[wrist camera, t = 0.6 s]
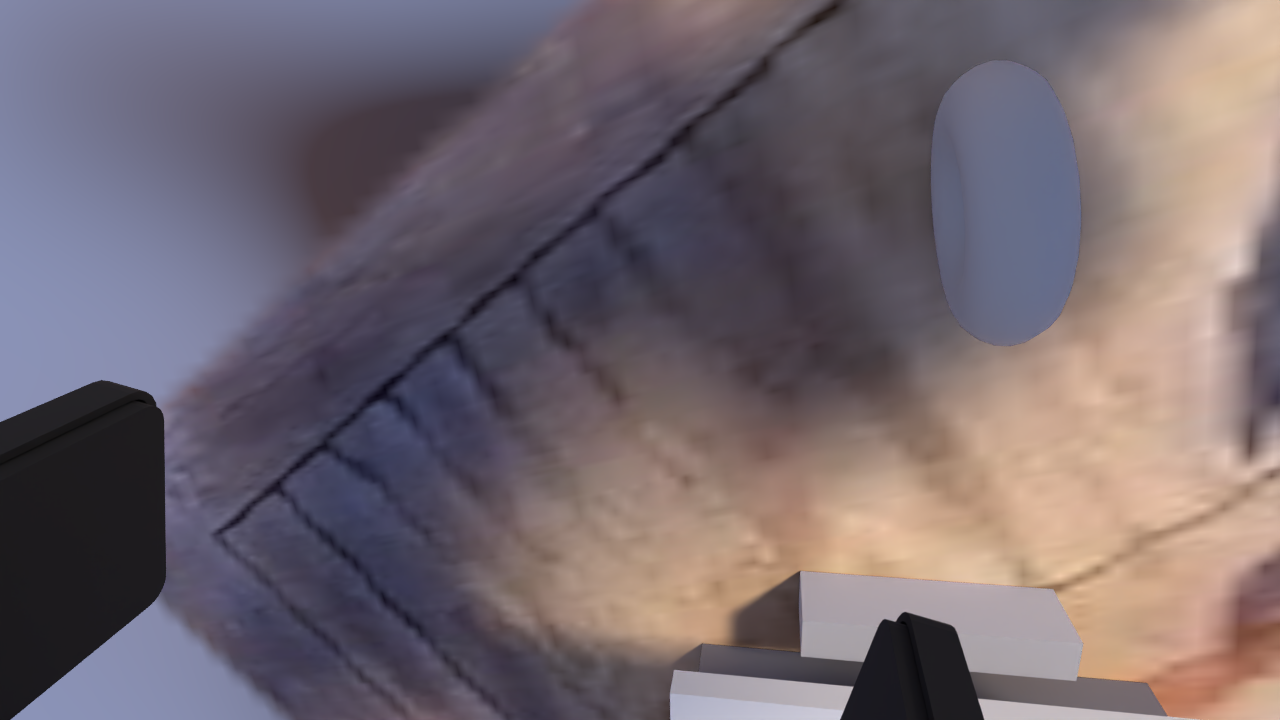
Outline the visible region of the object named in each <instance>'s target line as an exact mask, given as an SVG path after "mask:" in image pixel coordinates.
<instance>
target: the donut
mask: <svg viewBox="0 0 1280 720" xmlns="http://www.w3.org/2000/svg"><path fill="white" fill-rule="evenodd" d="M931 202H932V216H933V229H934V237H935V245H936V253H937V259H938V265H939V270H940V275H941V281H942V285H943V288H944V292H945V296H946V299H947V303H948V305H949V307H950V309H951V311H952V313H953V315H954V317H955V318H956V320H957V321H958V323H959V325H960V326H961V327H962V328H964V329H965V330H966V331H967V332H969V333H970V334H971V335H973V336H974V337H976V338H977V339H979V340H981V341H983V342H986V343H989V344H992V345H998V346H1012V345H1016V344H1021V343H1025V342H1026V341H1028V340H1030V339H1032V338H1033V337H1035V336H1037V335H1038V334H1040V333H1041V332H1043V331H1044V330H1046V329H1047V328H1049V327H1050V326H1051V325H1052V324H1053V322H1054V321H1055V320H1056V319H1057V318H1058V317H1059V315H1060V313H1061V311H1062V309H1063V307H1064V305H1065V302H1066V300H1067V298H1068V296H1069V293H1070V290H1071V288H1072V285H1073V281H1074V276H1075V271H1076V266H1077V261H1078V257H1079V246H1080V230H1081V201H1080V179H1079V172H1078V166H1077V159H1076V153H1075V147H1074V141H1073V137H1072V134H1071V131H1070V128H1069V124H1068V121H1067V118H1066V114H1065V111H1064V109H1063V107H1062V105H1061V103H1060V101H1059V100H1058V98H1057V96H1056V94H1055V93H1054V91H1053V89H1052V88H1051V86H1050V84H1049V83H1048V81H1047V80H1046V79H1045V78H1044V77H1042V76H1041V75H1040V74H1039V73H1038V72H1036V71H1035V70H1033V69H1030V68H1028V67H1026V66H1024V65H1022V64H1019V63H1016V62H1013V61H1010V60H992V61H989V62H986V63H983V64H979V65H976V66H975V67H973V68H972V69H970V70H969V71H967V72H966V73H965V74H963V75H962V76H961V77H960V78H958V79H957V80H956V81H955V82H954V83H953V85H952V86H951V87H950V88H949V89H948V91H947V92H946V93H945V94H944V96H943V99H942V101H941V104H940V106H939V109H938V112H937V116H936V119H935V122H934V130H933V138H932V151H931Z"/></svg>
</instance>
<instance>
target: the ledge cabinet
mask: <svg viewBox="0 0 1280 720" xmlns="http://www.w3.org/2000/svg"><path fill="white" fill-rule="evenodd" d="M903 612H908V613H912V614H915V615H918V616H922V617H925V618H929V619H932V620H936V621H939V622H943V623H946V624H950V625H952V626H953V627H955V629H956V631H957V634H958V637H959V640H960V643H961V646H962V649H963V653H964V656H965V659H966V662H967V665H968V669H969V672H970V675H971V678H972V681H973V685H974V688H975V691H976V694H977V697H978V701H979V704H980V707H981V710H982V713H983V717H984V720H1198V719H1187V718H1177V717H1168V716H1167V714H1166V713H1165V711H1164V709H1163V708H1162V706H1161V705H1160V703H1159V701H1158V700H1157V698H1156V697H1155V695H1154V693H1153V692H1152V690H1151V689H1150V687H1149V686H1148V684H1147V683H1140V682H1128V681H1117V680H1106V679H1095V678H1083V677H1077V675H1078V670H1079V664H1080V659H1081V654H1082V648H1083V642H1082V640H1081V639H1080V637H1079V635H1078V633H1077V631H1076V630H1075V628H1074V626H1073V624H1072V622H1071V621H1070V619H1069V617H1068V615H1067V613H1066V612H1065V610H1064V608H1063V606H1062V604H1061V603H1060V601H1059V599H1058V597H1057V595H1056V594H1055V592H1054V590H1053V589H1044V588H1030V587H1016V586H1002V585H988V584H974V583H960V582H947V581H933V580H919V579H905V578H891V577H877V576H863V575H849V574H835V573H821V572H807V571H800V588H799V623H800V647H801V652H790V651H779V650H768V649H756V648H745V647H734V646H723V645H711V644H702V649H701V657H700V664H699V671H698V672H692V671H681V670H674V673H673V679H672V685H671V690H670V720H840V719H841V716H842V714H843V711H844V709H845V707H846V704H847V702H848V699H849V697H850V694H851V692H852V689H853V687H854V684H855V682H856V680H857V677H858V675H859V672H860V670H861V667H862V665H863V662H864V660H865V658H866V655H867V653H868V650H869V648H870V645H871V643H872V640H873V638H874V636H875V633H876V631H877V628H878V626H879V624H880V623H881V621H882V620H884V619H887V620H891V621H894V622H896V620H897V618H898V617H899V616H900V615H901V613H903Z"/></svg>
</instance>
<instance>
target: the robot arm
mask: <svg viewBox="0 0 1280 720" xmlns="http://www.w3.org/2000/svg"><path fill="white" fill-rule="evenodd" d="M165 578H166V543H165V459H164V417H163V413H162V411H161V410H160V409H159V408H157V407H156V402H155V400H154V398H153V397H152V395H150V394H149V393H147V392H144V391H141V390H138V389H134V388H131V387H127V386H124V385H120V384H117V383H113V382H110V381H103V380H101V381H97V382H93V383H91V384H89V385H86V386H84V387H81V388H79V389H77V390H74V391H72V392H70V393H67V394H65V395H63V396H60V397H58V398H56V399H54V400H51V401H49V402H47V403H44V404H42V405H39V406H37V407H35V408H32V409H30V410H28V411H26V412H23V413H21V414H18V415H16V416H14V417H11V418H9V419H7V420H5V421H2V422H0V720H10V719H12V718H13V717H14V716H15V715H17V714H18V713H19V712H20V711H21V710H23V709H24V708H25V707H26V706H28V705H29V704H30V703H31V702H32V701H34V700H35V699H36V698H37V697H39V696H40V695H41V694H42V693H44V692H45V691H46V690H47V689H48V688H50V687H51V686H52V685H53V684H54V683H56V682H57V681H58V680H59V679H61V678H62V677H63V676H64V675H66V674H67V673H68V672H69V671H71V670H72V669H73V668H74V667H75V666H77V665H78V664H79V663H80V662H82V661H83V660H84V659H85V658H86V657H87V656H89V655H90V654H91V653H93V652H94V651H95V650H96V649H97V648H99V647H100V646H101V645H102V644H103V643H105V642H106V641H107V640H108V639H110V638H111V637H112V636H113V635H115V634H116V633H117V632H118V631H119V630H121V629H122V628H123V627H124V626H126V625H127V624H128V623H129V622H130V621H132V620H133V619H134V618H135V617H136V616H138V615H139V614H140V613H141V612H143V611H144V610H145V609H146V608H148V607H149V606H150V605H151V604H152V603H153V602H154V601H155V600H156V598H157V597H158V596H159V594H160V592H161V590H162V588H163V586H164V583H165ZM840 720H984V717H983V713H982V710H981V707H980V704H979V701H978V697H977V694H976V691H975V688H974V685H973V681H972V678H971V675H970V672H969V669H968V665H967V662H966V659H965V656H964V653H963V649H962V646H961V643H960V640H959V637H958V634H957V631H956V629H955V627H953V626H952V625H950V624H946V623H943V622H939V621H936V620H932V619H929V618H925V617H922V616H918V615H915V614H912V613H908V612H903V613H901V615H900V616H899V617H898V618H897V620H896V622H894V621H891V620H887V619H884V620H882V621H881V623H880V624H879V626H878V628H877V631H876V633H875V636H874V638H873V640H872V643H871V645H870V648H869V650H868V653H867V655H866V658H865V660H864V662H863V665H862V667H861V670H860V672H859V675H858V677H857V680H856V682H855V684H854V687H853V689H852V692H851V694H850V697H849V699H848V702H847V704H846V707H845V709H844V711H843V714H842V716H841V719H840Z"/></svg>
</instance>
